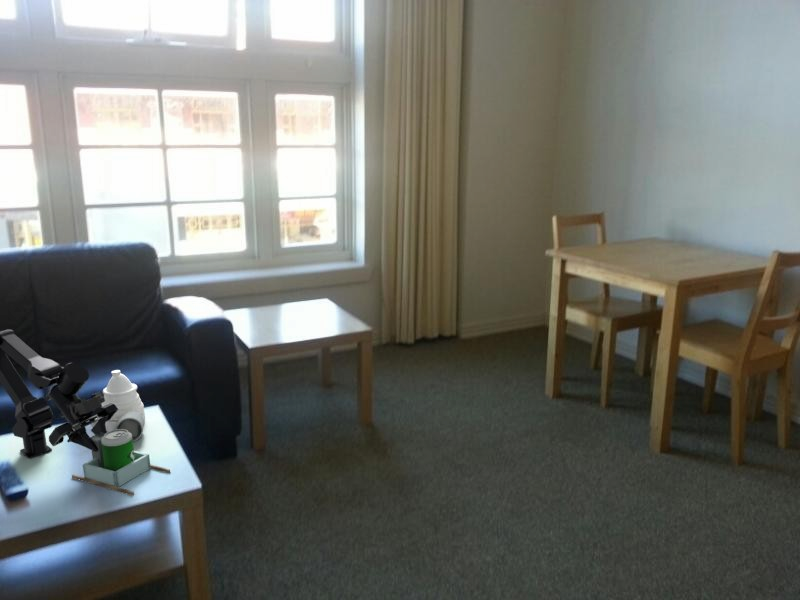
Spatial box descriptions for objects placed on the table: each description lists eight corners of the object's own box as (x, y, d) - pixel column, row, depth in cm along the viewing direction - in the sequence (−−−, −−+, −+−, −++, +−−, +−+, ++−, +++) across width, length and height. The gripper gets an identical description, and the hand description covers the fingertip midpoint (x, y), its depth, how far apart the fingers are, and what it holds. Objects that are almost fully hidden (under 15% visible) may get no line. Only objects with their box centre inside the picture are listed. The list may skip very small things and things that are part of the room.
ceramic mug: (145, 429, 205) (142, 406, 203) (144, 440, 198) (141, 416, 196) (108, 434, 202) (105, 411, 200) (105, 446, 194) (102, 422, 193)
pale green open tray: (81, 477, 176) (76, 443, 173) (116, 458, 186) (112, 426, 184) (116, 487, 170) (112, 453, 168) (150, 467, 181) (147, 434, 178)
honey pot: (140, 430, 205) (134, 375, 200) (96, 433, 203) (89, 377, 198) (148, 413, 217) (143, 361, 213) (107, 416, 215) (101, 363, 211)
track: (72, 477, 176) (71, 475, 176) (111, 456, 188) (111, 454, 187) (132, 495, 167) (132, 492, 167) (170, 472, 179) (170, 469, 179)
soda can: (130, 482, 174) (125, 439, 171) (101, 482, 174) (95, 440, 171) (140, 468, 181) (135, 427, 178) (112, 468, 181) (107, 428, 178)
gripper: (50, 398, 168) (86, 446, 166) (109, 375, 185) (143, 418, 183) (33, 422, 173) (68, 469, 171) (92, 397, 190) (125, 440, 188)
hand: (103, 448), depth 178 cm, fingers closed on pale green open tray, 3 cm apart
